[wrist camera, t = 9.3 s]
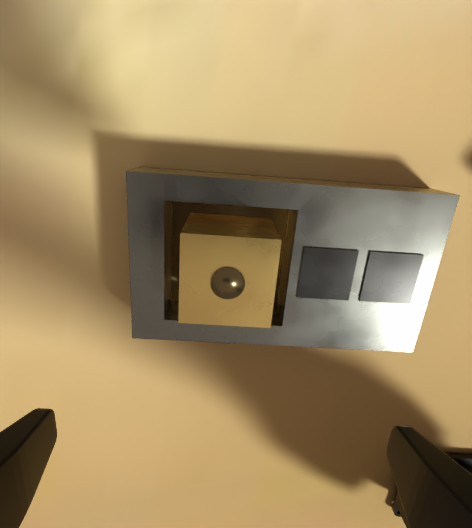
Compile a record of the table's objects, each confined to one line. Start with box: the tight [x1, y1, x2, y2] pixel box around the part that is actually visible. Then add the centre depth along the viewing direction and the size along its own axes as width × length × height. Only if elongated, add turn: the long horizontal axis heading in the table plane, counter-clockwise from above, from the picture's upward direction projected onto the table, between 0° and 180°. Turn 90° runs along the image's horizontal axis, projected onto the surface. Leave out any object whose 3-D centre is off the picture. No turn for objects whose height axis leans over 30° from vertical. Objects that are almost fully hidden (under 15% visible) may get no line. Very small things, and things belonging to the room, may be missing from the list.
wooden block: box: [178, 213, 282, 328], centre depth 18 cm, size 4×4×5 cm
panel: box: [126, 167, 460, 352], centre depth 19 cm, size 16×9×3 cm, turn 86°
